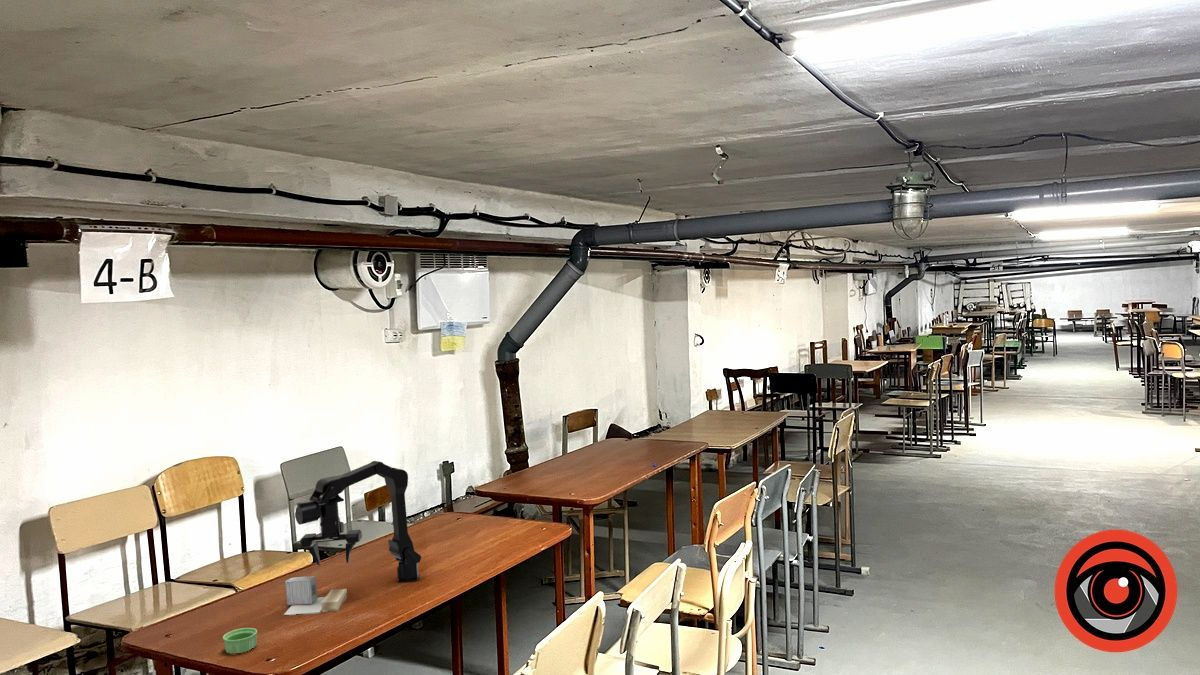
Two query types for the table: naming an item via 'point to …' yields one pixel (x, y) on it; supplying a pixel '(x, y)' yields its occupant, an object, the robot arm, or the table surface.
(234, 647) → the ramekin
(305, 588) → the medicine box
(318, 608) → the mat
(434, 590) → the table surface
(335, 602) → the step block
